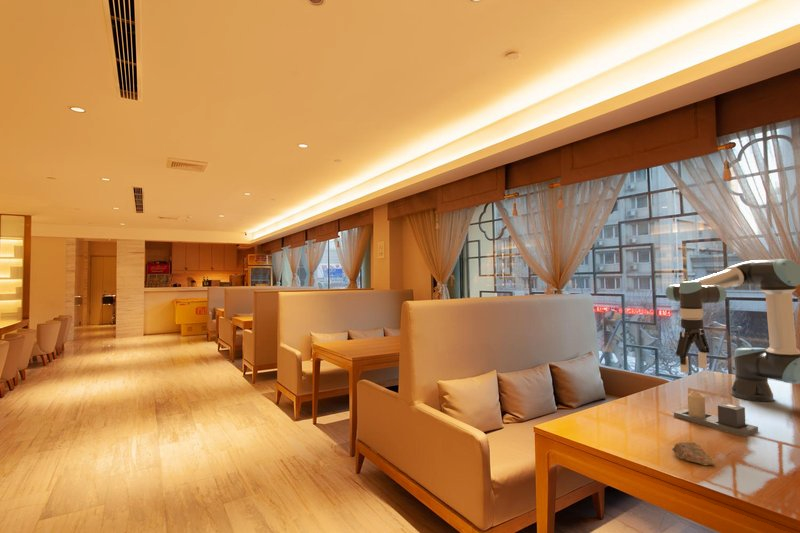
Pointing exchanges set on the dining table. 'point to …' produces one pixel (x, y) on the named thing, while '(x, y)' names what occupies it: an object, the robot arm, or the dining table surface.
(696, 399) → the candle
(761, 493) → the dining table surface
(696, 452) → the rock
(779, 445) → the dining table surface
